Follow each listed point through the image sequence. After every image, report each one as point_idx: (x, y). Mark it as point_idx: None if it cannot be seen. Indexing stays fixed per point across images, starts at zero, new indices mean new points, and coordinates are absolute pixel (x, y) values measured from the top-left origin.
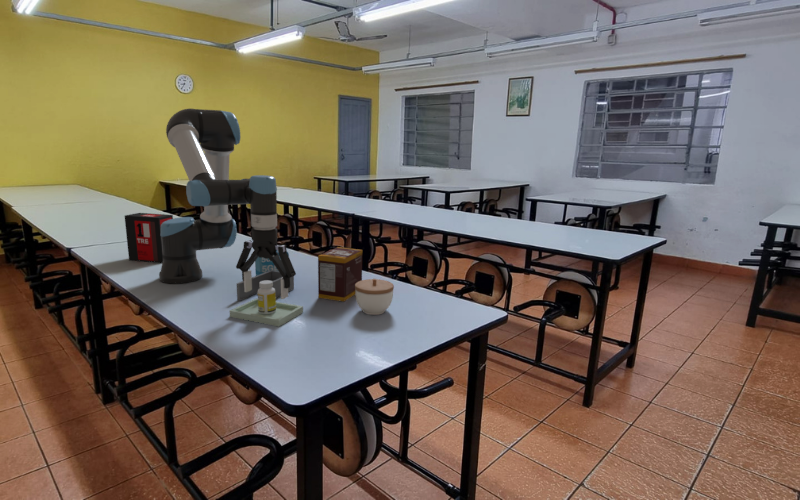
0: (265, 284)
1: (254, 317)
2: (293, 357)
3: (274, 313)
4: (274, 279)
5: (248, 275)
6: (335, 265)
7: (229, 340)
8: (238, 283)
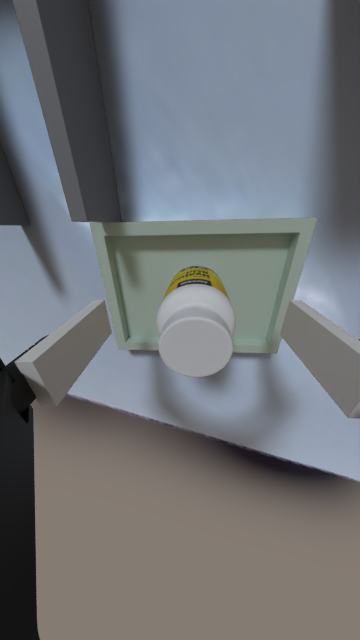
0: (212, 372)
1: None
2: (348, 424)
3: None
4: None
5: (64, 365)
6: None
7: (209, 412)
8: None
